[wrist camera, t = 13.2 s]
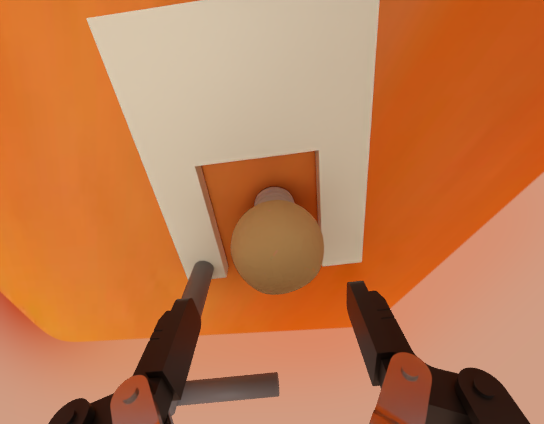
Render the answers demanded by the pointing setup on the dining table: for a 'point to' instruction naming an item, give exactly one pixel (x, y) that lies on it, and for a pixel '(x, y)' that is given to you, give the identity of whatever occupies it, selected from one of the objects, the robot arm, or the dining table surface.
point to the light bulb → (277, 244)
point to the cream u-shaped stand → (245, 120)
